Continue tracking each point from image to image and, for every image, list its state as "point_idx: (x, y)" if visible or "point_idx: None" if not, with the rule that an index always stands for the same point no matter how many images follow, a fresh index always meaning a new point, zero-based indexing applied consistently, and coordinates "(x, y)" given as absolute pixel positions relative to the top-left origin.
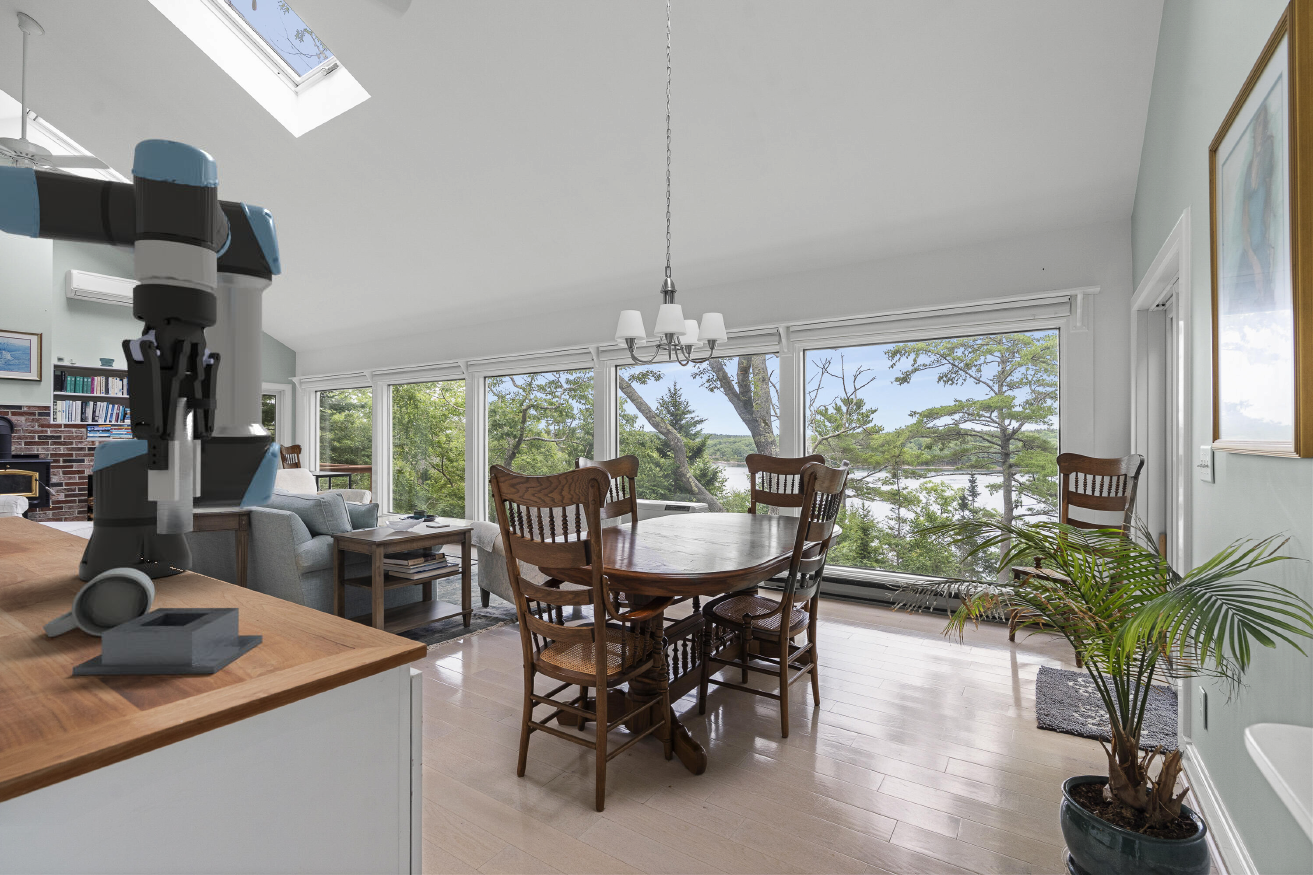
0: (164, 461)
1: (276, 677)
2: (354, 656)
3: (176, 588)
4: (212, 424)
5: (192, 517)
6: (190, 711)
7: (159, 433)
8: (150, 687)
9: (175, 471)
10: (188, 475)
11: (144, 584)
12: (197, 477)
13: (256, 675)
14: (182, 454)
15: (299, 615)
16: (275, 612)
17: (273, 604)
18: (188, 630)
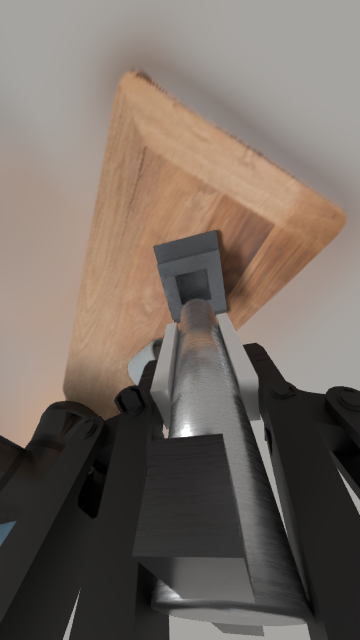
0: (256, 353)
1: (216, 172)
2: (163, 130)
3: (86, 380)
4: (75, 443)
5: (188, 306)
6: (277, 189)
7: (343, 387)
8: (240, 252)
9: (234, 335)
10: (202, 331)
11: (152, 352)
12: (171, 338)
13: (214, 193)
14: (219, 358)
15: (95, 264)
16: (97, 287)
17: (83, 303)
18: (215, 256)
